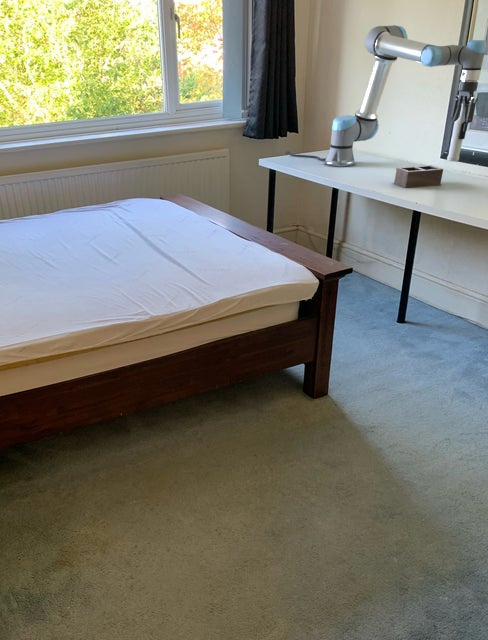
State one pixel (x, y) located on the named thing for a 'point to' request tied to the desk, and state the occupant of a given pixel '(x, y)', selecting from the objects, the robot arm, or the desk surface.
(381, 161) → the desk surface
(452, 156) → the bottle
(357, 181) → the desk surface
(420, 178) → the caddy
